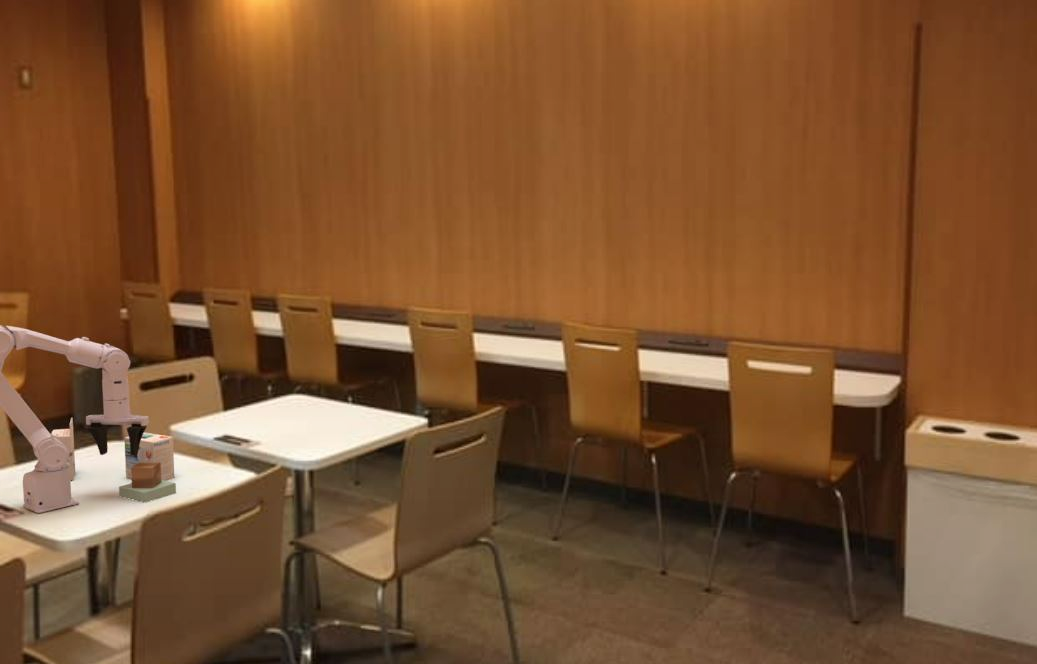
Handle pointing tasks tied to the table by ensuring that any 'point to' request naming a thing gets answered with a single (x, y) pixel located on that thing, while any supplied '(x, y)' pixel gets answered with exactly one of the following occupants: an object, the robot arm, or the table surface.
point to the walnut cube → (146, 474)
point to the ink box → (68, 445)
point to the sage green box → (148, 491)
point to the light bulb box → (152, 454)
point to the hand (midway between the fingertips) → (119, 454)
